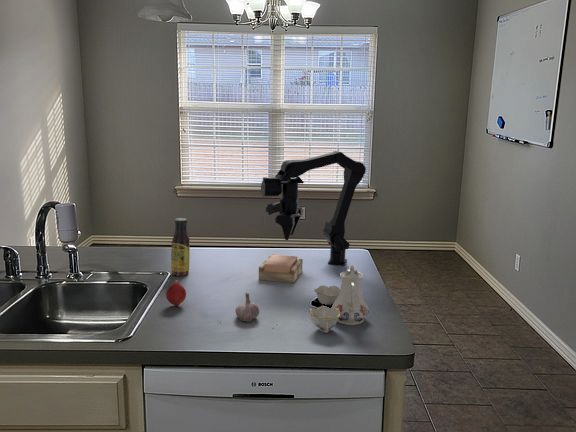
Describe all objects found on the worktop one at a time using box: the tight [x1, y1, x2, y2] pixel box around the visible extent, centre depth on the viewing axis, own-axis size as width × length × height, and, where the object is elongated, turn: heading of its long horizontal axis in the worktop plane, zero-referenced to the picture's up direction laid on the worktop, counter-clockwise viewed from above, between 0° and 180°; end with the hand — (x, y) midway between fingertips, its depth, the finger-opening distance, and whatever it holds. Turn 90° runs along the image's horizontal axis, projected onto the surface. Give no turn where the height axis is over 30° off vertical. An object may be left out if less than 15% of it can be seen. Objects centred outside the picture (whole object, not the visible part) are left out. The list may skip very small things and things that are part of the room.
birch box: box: [258, 255, 304, 284], centre depth 196 cm, size 14×12×4 cm
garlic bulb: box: [235, 291, 260, 323], centre depth 158 cm, size 8×7×8 cm
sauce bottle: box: [170, 217, 191, 277], centre depth 193 cm, size 7×6×20 cm
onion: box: [165, 280, 187, 307], centre depth 166 cm, size 6×6×8 cm
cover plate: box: [264, 254, 298, 273], centre depth 196 cm, size 12×9×2 cm
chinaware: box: [309, 264, 370, 334], centre depth 158 cm, size 28×17×17 cm, turn 178°
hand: (289, 237), depth 205 cm, fingers open, 7 cm apart
